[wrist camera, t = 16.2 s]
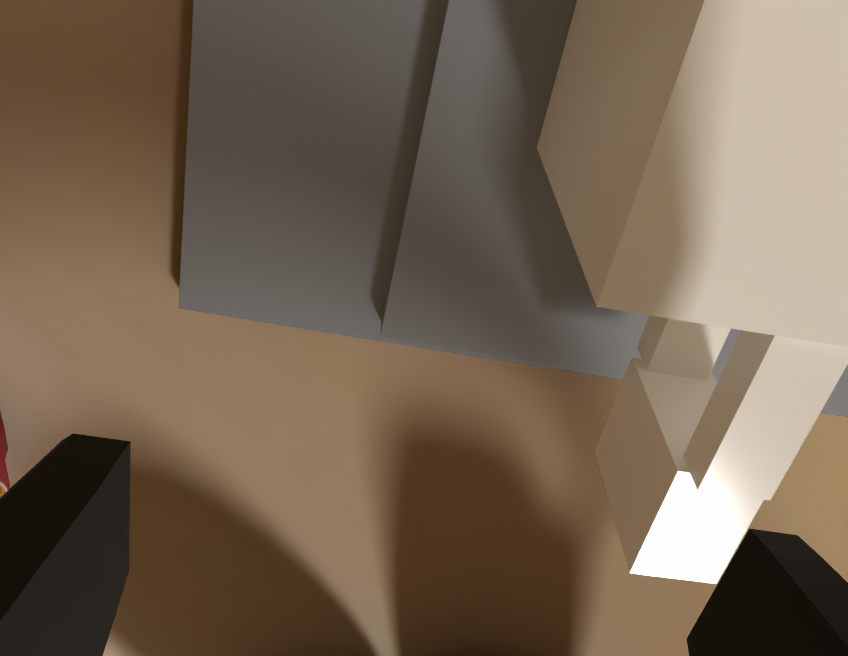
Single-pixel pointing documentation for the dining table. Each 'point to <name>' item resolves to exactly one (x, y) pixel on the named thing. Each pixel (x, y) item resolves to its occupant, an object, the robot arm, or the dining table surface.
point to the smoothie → (3, 461)
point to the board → (392, 180)
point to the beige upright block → (707, 249)
